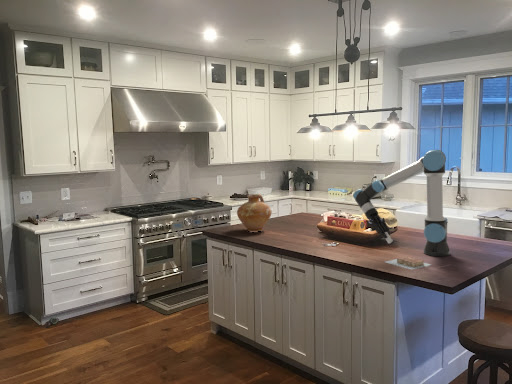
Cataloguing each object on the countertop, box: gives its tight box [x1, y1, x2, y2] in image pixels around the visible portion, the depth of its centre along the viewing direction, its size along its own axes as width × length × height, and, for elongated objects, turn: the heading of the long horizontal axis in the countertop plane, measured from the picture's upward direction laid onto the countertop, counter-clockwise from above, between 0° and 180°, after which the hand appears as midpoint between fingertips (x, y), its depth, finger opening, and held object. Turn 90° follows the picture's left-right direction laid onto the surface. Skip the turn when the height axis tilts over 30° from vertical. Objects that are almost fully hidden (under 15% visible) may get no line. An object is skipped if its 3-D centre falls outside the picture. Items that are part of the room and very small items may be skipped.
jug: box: [236, 193, 272, 232], centre depth 362 cm, size 28×28×30 cm
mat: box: [384, 258, 432, 271], centre depth 257 cm, size 20×17×1 cm
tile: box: [396, 256, 425, 267], centre depth 255 cm, size 2×8×12 cm
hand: (390, 242), depth 266 cm, fingers closed
